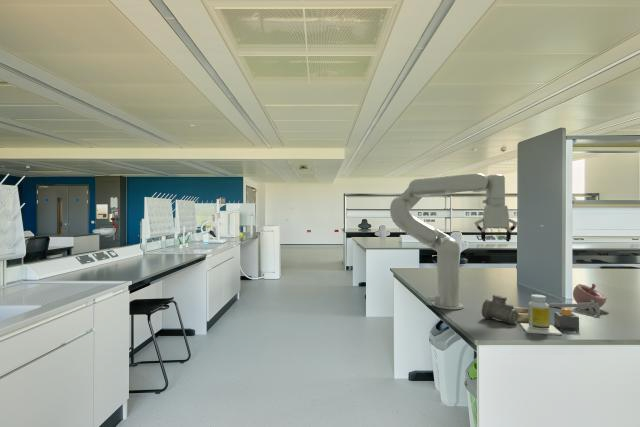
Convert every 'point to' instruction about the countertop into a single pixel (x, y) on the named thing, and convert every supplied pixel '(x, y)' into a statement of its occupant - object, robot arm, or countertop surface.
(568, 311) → the plunger
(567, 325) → the block
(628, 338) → the countertop surface
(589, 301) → the mortar and pestle
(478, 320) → the countertop surface
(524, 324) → the pad
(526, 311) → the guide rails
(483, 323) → the countertop surface
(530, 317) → the pill bottle
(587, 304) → the caliper
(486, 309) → the pipe fitting
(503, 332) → the countertop surface
